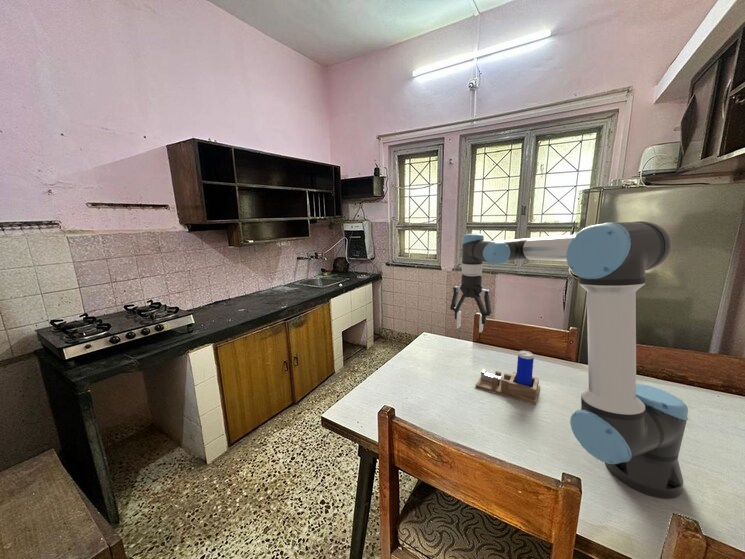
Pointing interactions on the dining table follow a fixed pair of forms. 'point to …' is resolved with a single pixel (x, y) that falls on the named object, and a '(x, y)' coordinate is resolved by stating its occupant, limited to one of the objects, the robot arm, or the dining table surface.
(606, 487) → the dining table surface
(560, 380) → the dining table surface
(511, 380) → the mount
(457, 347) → the dining table surface
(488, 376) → the lock pin
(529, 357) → the beverage can
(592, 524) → the dining table surface
